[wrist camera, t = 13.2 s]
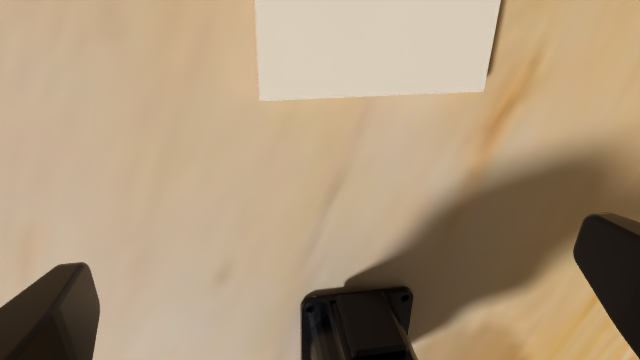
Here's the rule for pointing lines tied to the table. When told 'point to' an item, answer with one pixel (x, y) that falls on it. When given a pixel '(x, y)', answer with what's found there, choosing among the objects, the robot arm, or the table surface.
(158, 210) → the table surface
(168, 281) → the table surface
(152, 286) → the table surface
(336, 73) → the stone coaster
